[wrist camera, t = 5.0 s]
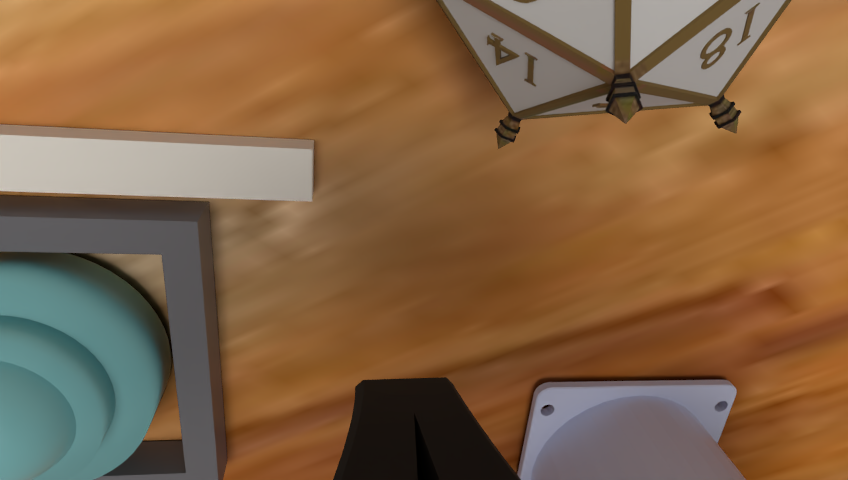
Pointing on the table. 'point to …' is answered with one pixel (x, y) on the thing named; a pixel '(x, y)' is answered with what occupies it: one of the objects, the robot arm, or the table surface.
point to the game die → (611, 54)
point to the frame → (154, 164)
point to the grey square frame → (186, 300)
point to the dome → (74, 367)
